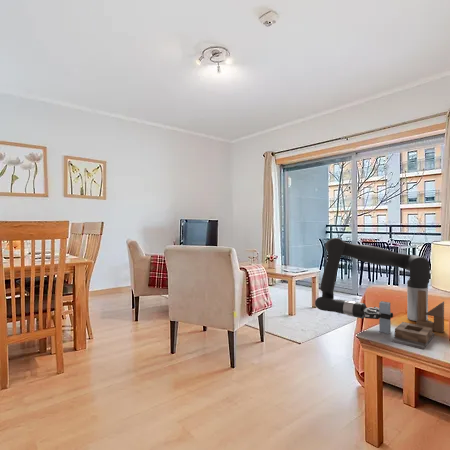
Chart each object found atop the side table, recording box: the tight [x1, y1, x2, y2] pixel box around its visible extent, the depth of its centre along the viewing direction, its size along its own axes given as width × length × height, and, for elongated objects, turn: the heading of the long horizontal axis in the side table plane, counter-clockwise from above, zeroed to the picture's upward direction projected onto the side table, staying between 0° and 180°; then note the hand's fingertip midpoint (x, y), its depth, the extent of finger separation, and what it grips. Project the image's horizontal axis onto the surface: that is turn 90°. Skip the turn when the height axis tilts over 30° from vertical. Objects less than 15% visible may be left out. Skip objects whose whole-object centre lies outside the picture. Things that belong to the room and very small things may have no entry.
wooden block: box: [415, 290, 445, 334], centre depth 152 cm, size 4×11×18 cm, turn 45°
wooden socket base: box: [391, 321, 435, 350], centre depth 142 cm, size 20×12×4 cm, turn 136°
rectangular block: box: [378, 300, 392, 334], centre depth 150 cm, size 3×4×14 cm
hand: (391, 316), depth 148 cm, fingers closed on rectangular block, 3 cm apart
